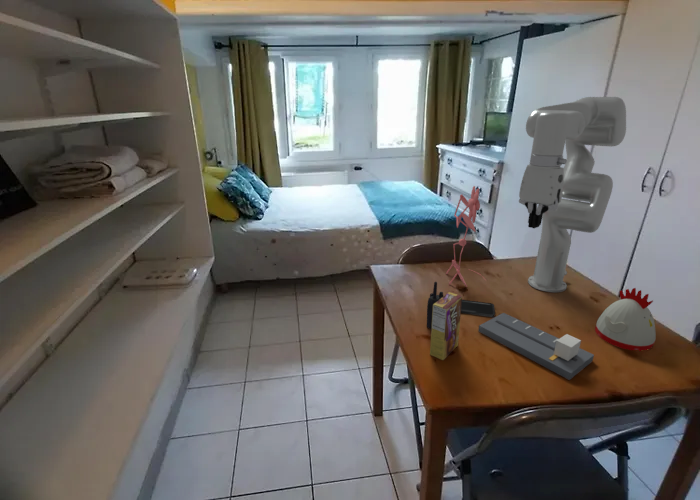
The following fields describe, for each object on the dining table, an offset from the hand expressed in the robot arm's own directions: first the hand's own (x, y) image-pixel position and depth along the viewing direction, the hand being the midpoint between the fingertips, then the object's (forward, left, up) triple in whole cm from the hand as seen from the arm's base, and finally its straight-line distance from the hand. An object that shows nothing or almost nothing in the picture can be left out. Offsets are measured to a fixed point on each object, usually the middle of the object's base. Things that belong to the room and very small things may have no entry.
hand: (533, 226), depth 110 cm
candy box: (+32, -2, -29) cm, 43 cm away
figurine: (-8, -26, -29) cm, 40 cm away
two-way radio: (+25, -12, -29) cm, 40 cm away
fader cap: (+11, +20, -27) cm, 35 cm away
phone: (+8, -12, -30) cm, 33 cm away
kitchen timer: (-14, +24, -29) cm, 40 cm away
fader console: (+11, +11, -29) cm, 33 cm away
